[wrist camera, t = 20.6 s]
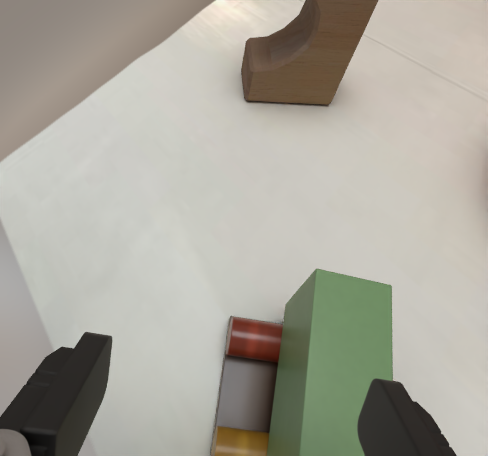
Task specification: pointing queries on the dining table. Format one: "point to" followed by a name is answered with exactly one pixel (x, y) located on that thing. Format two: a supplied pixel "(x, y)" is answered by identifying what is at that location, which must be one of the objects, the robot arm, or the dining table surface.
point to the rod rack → (246, 388)
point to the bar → (329, 364)
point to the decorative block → (306, 53)
